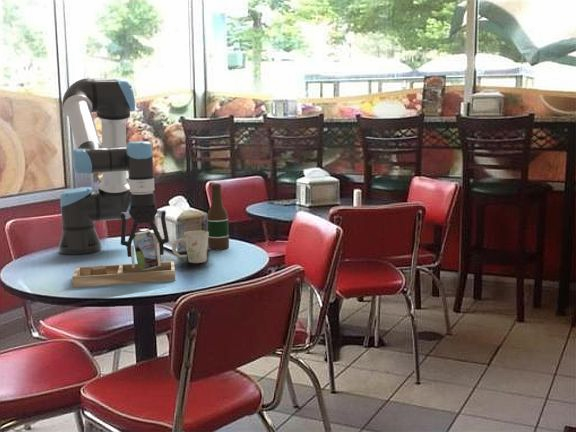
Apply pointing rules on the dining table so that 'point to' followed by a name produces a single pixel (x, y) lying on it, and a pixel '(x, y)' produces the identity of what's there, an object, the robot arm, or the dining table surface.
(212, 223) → the beer bottle
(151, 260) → the beverage can
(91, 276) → the walled box
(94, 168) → the robot arm
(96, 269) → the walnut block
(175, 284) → the dining table surface
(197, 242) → the mug
